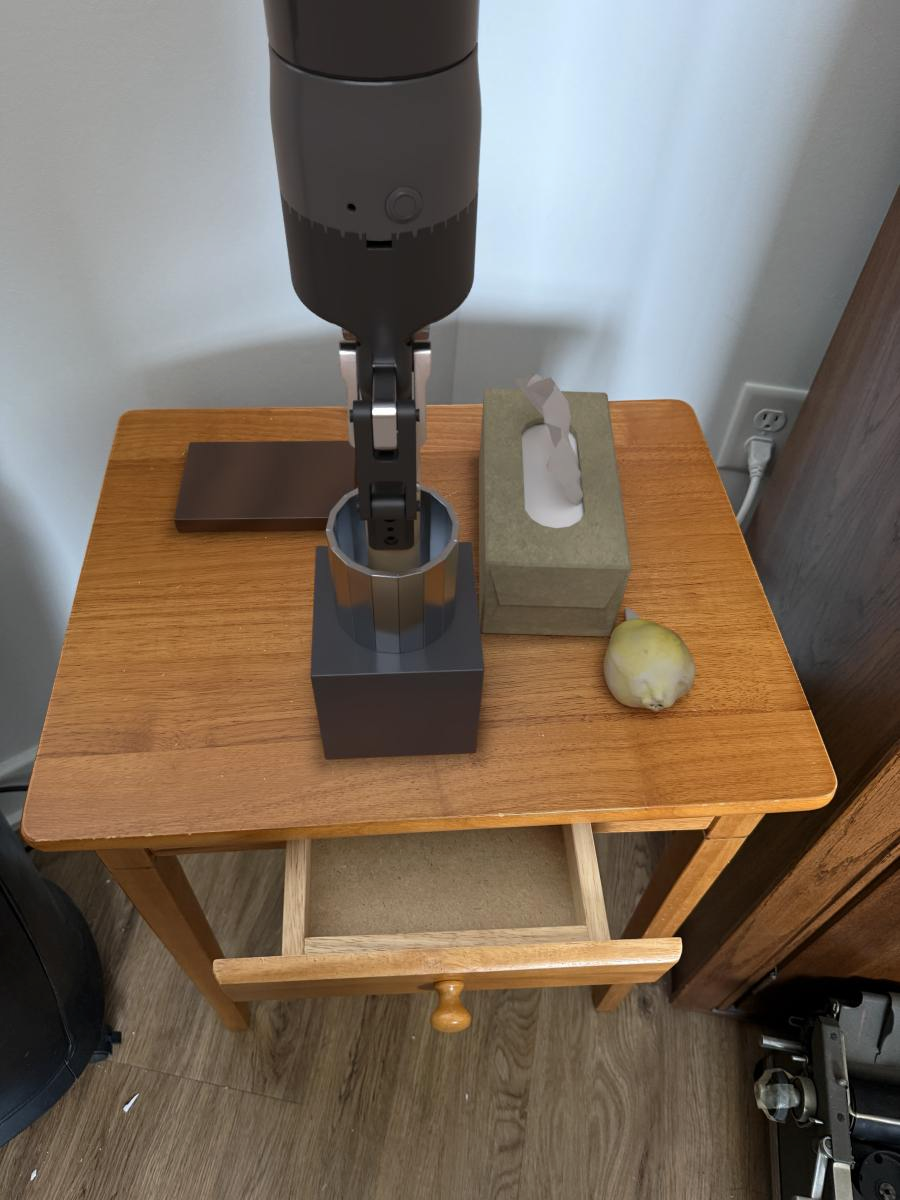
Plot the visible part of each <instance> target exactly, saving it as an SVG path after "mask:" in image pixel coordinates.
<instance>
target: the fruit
mask: <svg viewBox="0 0 900 1200" xmlns="http://www.w3.org/2000/svg"><path fill="white" fill-rule="evenodd" d="M624 616H625V620H624V621H622V622H621V623H619V624H618V625H617V626H615V627H614V630H613V632H612V634H611V636H610V637H609V638H610V639H609V641H608V645H607V649H606V652H605V654H604V658H603V675H604V680H605V683H606V685H607V688H608V690H609V692H610V693H611V694H612V696H613V697H614V699H615V700H616V701H617V702H618V703H620V704H622V705H624V706H627V707H631V708H644V709H648V710H652V711H654V712H659V711H662V710H663V709H668V708H671V707H672V706H673V705H674V703H675V702H676V701H677V700H678V699H680V698H682V697H683V696H685V695H686V694H687V693H689V692H691V690H692V688H693V685H694V682H695V680H696V674H697V673H696V663H695V660H694V657H693V655H692V653H691V651H690V649H689V647H688V646H687V644H686V642H685V641H684V640H683V638H682V637H681V636H680V634H678V633H677V632H676V631H674V630H673V629H671V628H669V627H666V626H664V625H661V624H659V623H658V622H656V621H653V620H650V619H646V618H641V617H640V616H639V614H638V613H636V612H635V611H634V610H633V609H632V608H630V607H625V608H624Z"/></svg>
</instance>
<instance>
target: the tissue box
mask: <svg viewBox="0 0 900 1200" xmlns="http://www.w3.org/2000/svg"><path fill="white" fill-rule="evenodd" d="M513 380H514V382H515V383H516V384H517V386H518V387H519V389H512V388H511V389H508V388H485V389H484V390H483V398H482V399H483V402H482V414H481V429H480V443H479V456H478V540H479V541H478V572H479V574H478V594H479V595H478V596H479V597H478V600H479V601H478V602H479V603H478V612H479V622H480V632H481V634H482V633H483V634H508V635H509V634H510V635H512V634H513V635H540V636H541V635H542V636H543V635H544V636H575V637H576V636H577V637H604V638H606V637H607V638H610V637H611V634H612V632H613V630H614V629H615V628H616V624H617V623H616V622H617V620H618V617H619V616H618V615H619V612H620V610H621V605H622V602H623V599H624V595H625V592H626V589H627V585H628V581H629V578H630V576H631V572H632V568H633V566H632V559H631V553H630V543H629V539H628V538H629V537H628V532H627V531H628V530H627V523H626V517H625V509H624V502H623V496H622V488H621V481H620V473H619V468H618V458H617V453H616V445H615V438H614V432H613V423H612V417H611V416H612V415H611V410H610V404H609V403H610V401H609V396H608V394H607V393H606V392H600V391H595V392H594V391H571V390H570V391H569V390H561V389H560V388H559V386H558V384H556V382H555V381H554V379H553V378H552V377H547V378H544V377H542V376H541V375H539V374H537V373H536V372H532V373H530V374H528V375H526V376H524V377H522V378H516V377H513Z"/></svg>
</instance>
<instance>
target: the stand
mask: <svg viewBox="0 0 900 1200" xmlns="http://www.w3.org/2000/svg"><path fill="white" fill-rule="evenodd" d="M473 554H474V553H473V544H472V541H459V545H458V565H457V584H456V602H455V612H454V618H453V620H452V622H451V624H450V625H449V627H448V628H447V630H446V631H445V633H444V634H443V635H442V636H441V637H440V638H438V639H437V640H435V641H434V642H432V643H431V644H429V645H428V646H426V647H425V648H424V647H423V648H422V649H418V650H414V651H410V652H405V653H400V654H398V653H386V652H377V651H374V650H371V649H369V648H367V647H365V646H363V645H360V644H358V643H356V642H355V641H354V640H353V639H352V638H351V637H350V636H349V635H348V634H347V633H346V632H345V631H344V630H343V629H342V628H341V626H340V623H339V620H338V616H337V613H336V609H335V602H334V594H333V586H332V577H331V569H330V561H329V553H328V545H316V546H315V559H314V583H313V585H314V586H313V603H312V605H313V606H312V607H313V608H312V629H311V630H312V631H311V650H310V651H311V653H310V672H309V673H310V675H309V676H310V682H311V689H312V693H313V699H314V704H315V710H316V716H317V721H318V722H317V723H318V726H319V732H320V733H319V734H320V738H321V739H320V740H321V745H322V748H323V749H322V750H323V755H324V759H325V760H341V759H364V758H365V759H366V758H386V757H387V758H388V757H389V758H390V757H391V758H392V757H410V756H411V757H413V756H414V757H415V756H434V755H435V756H437V755H459V754H462V755H463V754H476V753H477V747H478V746H477V745H478V736H479V727H480V726H479V725H480V716H481V707H482V696H483V688H484V687H483V686H484V679H485V677H484V676H485V664H484V663H485V662H484V661H485V660H484V653H483V644H482V632H481V631H480V622H479V603H478V602H479V601H478V594H477V585H476V573H475V563H474V562H475V561H474V555H473Z"/></svg>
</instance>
